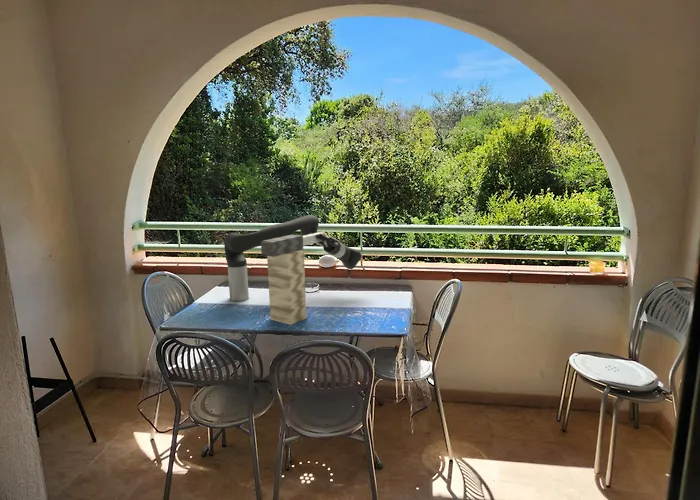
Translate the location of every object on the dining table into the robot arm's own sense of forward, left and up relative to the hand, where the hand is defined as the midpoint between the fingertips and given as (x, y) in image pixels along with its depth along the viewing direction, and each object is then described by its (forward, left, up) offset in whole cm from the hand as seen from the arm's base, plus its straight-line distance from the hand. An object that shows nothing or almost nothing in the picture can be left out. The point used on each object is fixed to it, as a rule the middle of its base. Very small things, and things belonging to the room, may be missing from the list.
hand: (314, 235), depth 206 cm
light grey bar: (-5, -4, -3) cm, 7 cm away
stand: (-16, -13, -34) cm, 40 cm away
